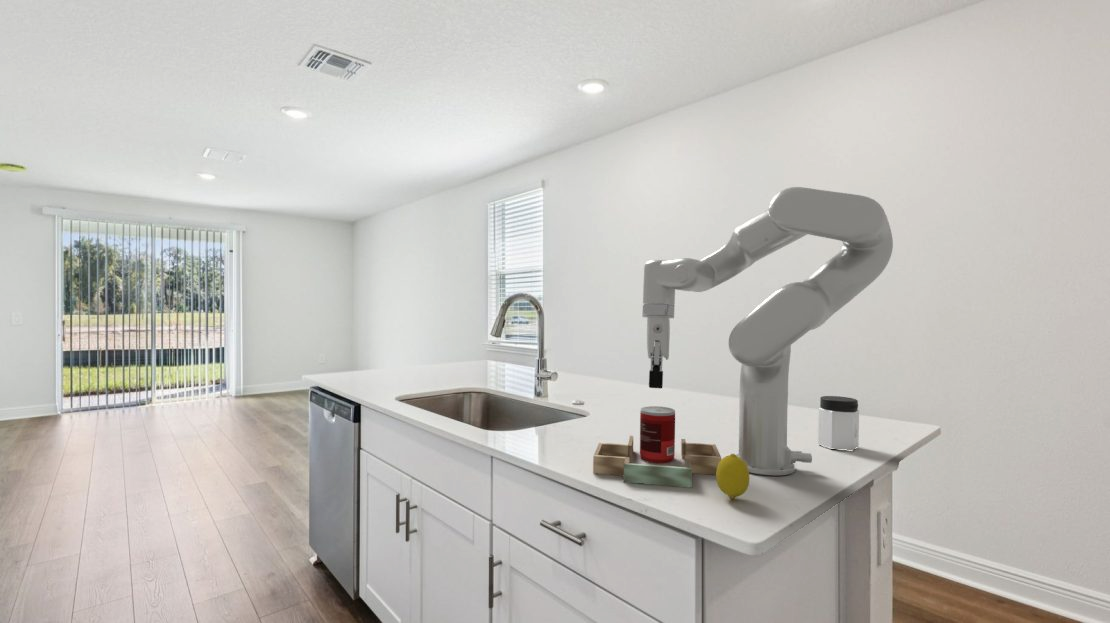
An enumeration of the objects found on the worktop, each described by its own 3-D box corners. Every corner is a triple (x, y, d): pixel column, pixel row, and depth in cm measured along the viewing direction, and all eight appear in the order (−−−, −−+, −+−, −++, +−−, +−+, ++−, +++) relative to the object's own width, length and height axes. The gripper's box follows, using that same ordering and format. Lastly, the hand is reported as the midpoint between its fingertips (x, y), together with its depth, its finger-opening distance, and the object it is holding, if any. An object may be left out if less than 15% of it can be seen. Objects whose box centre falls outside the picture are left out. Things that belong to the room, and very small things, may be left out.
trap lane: (713, 456, 116) (713, 440, 116) (727, 490, 94) (727, 471, 94) (602, 448, 121) (602, 433, 121) (590, 479, 99) (590, 461, 99)
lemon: (733, 507, 86) (733, 459, 86) (709, 496, 91) (709, 451, 91) (756, 501, 89) (756, 456, 89) (731, 491, 94) (732, 448, 94)
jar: (850, 453, 120) (851, 403, 120) (814, 446, 126) (814, 398, 126) (862, 447, 126) (862, 398, 126) (826, 440, 132) (827, 394, 132)
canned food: (672, 454, 118) (672, 406, 117) (676, 464, 110) (677, 413, 110) (638, 452, 118) (639, 405, 118) (640, 463, 110) (641, 412, 110)
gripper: (675, 312, 115) (672, 393, 115) (673, 312, 129) (670, 384, 130) (641, 311, 116) (638, 391, 116) (643, 310, 131) (640, 382, 131)
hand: (655, 387), depth 123 cm, fingers closed
